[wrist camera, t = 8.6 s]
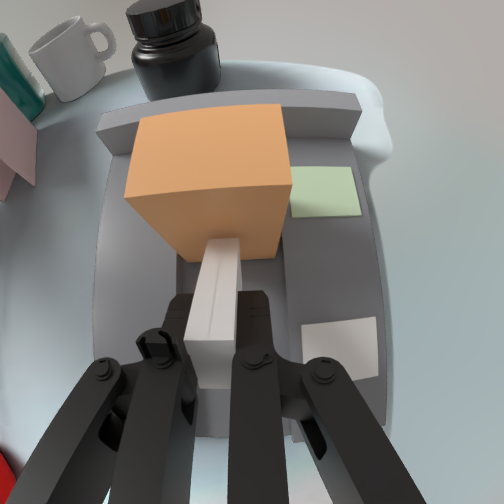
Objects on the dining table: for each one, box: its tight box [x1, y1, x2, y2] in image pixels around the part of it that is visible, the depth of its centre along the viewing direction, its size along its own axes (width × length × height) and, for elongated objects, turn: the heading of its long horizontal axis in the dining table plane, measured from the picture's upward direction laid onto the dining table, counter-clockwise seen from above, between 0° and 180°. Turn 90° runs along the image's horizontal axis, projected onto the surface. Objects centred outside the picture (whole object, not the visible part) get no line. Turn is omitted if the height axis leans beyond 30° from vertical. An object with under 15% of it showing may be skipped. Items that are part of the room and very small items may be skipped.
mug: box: [29, 16, 116, 102], centre depth 23 cm, size 12×8×11 cm
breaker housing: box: [93, 89, 387, 443], centre depth 17 cm, size 24×20×6 cm
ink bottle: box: [126, 0, 221, 102], centre depth 20 cm, size 10×9×12 cm
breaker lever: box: [124, 104, 293, 263], centre depth 14 cm, size 4×6×10 cm, turn 93°
